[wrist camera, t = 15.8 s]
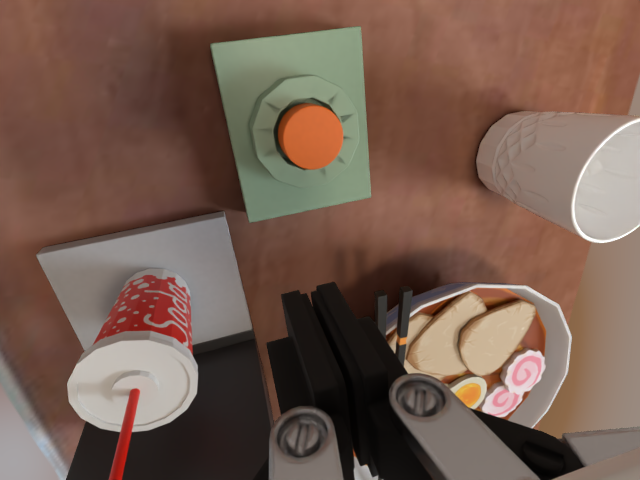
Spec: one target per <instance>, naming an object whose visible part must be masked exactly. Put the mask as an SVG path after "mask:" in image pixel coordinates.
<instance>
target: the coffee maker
mask: <svg viewBox="0 0 640 480" xmlns="http://www.w3.org/2000/svg"><path fill="white" fill-rule="evenodd" d="M36 257H37V259H38V261H39V263H40V265H41V267H42V269H43V270H44V272H45V274H46V276H47V278H48V280H49V282H50V284H51V286H52V288H53V290H54V292H55V294H56V296H57V298H58V300H59V302H60V304H61V306H62V308H63V310H64V312H65V313H66V315H67V317H68V319H69V321H70V323H71V325H72V327H73V329H74V331H75V333H76V335H77V337H78V339H79V341H80V343H81V345H82V347H83V349H84V351H86V350H88V349H89V348H90V347H91V346H92V345H93V343H94V341H95V340H96V338H97V336H98V334H99V332H100V330H101V328H102V326H103V325H104V323H105V321H106V319H107V317H108V315H109V313H110V311H111V310H112V308H113V306H114V304H115V302H116V300H117V298H118V296H119V295H120V293H121V291H122V289H123V287H124V285H125V283H126V281H127V280H128V279H129V278H131V277H132V276H133V275H134V274H136V273H137V272H140V271H143V270H147V269H150V268H154V269H166V270H169V271H171V272H174V273H177V274H178V275H179V276H180V277H181V278H182V279H183V280H185V281H186V284H187V286H188V288H189V290H190V303H191V327H192V350H193V357H194V359H195V361H196V363H197V365H198V385H197V394H196V396H195V397H194V399H193V401H192V402H191V404H190V406H189V407H188V409H187V410H186V411H184V412H183V413H182V414H181V415H179V416H178V417H177V418H175V419H174V420H173V421H171V422H170V423H167V424H164V425H162V426H159V427H156V428H154V429H151V430H148V431H138V432H132V434H131V438H130V443H129V448H128V453H127V458H126V462H125V467H124V472H123V477H122V480H253V478H254V477H255V475H256V474H257V473H258V471H259V470H260V468H261V467H262V465H263V464H264V463H265V461H266V460H267V458H268V457H269V438H270V432H271V429H272V427H273V425H274V420H273V414H272V409H271V404H270V399H269V393H268V388H267V383H266V378H265V374H264V370H263V366H262V362H261V358H260V354H259V350H258V346H257V342H256V338H255V334H254V330H253V326H252V322H251V317H250V313H249V309H248V305H247V301H246V297H245V293H244V289H243V285H242V281H241V277H240V273H239V269H238V265H237V260H236V256H235V252H234V248H233V244H232V240H231V236H230V232H229V228H228V224H227V220H226V216H225V212H224V211H222V212H217V213H212V214H207V215H202V216H197V217H192V218H187V219H182V220H177V221H172V222H167V223H162V224H157V225H152V226H147V227H142V228H137V229H132V230H127V231H122V232H117V233H113V234H108V235H103V236H98V237H93V238H88V239H83V240H78V241H73V242H68V243H63V244H58V245H53V246H48V247H43V248H42V249H41V250H40V251H39V252H38V253H37V254H36ZM119 435H120V432H117V431H111V430H105V429H100V428H98V427H97V426H95V425H93V424H91V423H89V422H87V421H86V423H85V426H84V429H83V432H82V435H81V438H80V440H79V443H78V446H77V449H76V452H75V455H74V458H73V461H72V464H71V466H70V469H69V472H68V475H67V478H66V480H109V477H110V473H111V468H112V464H113V460H114V456H115V452H116V448H117V444H118V439H119Z"/></svg>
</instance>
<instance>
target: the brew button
mask: <svg viewBox="0 0 640 480" xmlns="http://www.w3.org/2000/svg"><path fill="white" fill-rule="evenodd" d="M278 141H279V144H280V147H281V149H282V151H283V152H284V154H285V155H286V156H287V157H288V158H289V159H290V160H291V161H292V162H293V163H294V164H296V165H297V166H299V167H301V168H304V169H309V170H314V169H320V168H323V167H325V166H327V165H328V164H330V163H331V162H332V161H333V160H334V159H335V158H336V157H337V155H338V154H339V152H340V150H341V147H342V144H343V129H342V125H341V123H340V121H339V119H338V118H337V116H336V115H335V114H334V113H333V112H332V111H330V110H329V109H327V108H325V107H322V106H319V105H316V104H312V103H302V104H298V105H296V106H294V107H292V108H291V109H289V110H288V111H287V112H286V113H285V115H284V116H283V117H282V119H281V121H280V124H279V127H278Z"/></svg>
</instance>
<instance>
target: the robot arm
mask: <svg viewBox="0 0 640 480" xmlns="http://www.w3.org/2000/svg"><path fill="white" fill-rule="evenodd" d="M281 297H282V303H283V309H284V314H285V320H286V325H287V331H288V337H286V338H283V339H279V340H275V341H271V342H267V343H266V344H267V349H268V354H269V359H270V364H271V368H272V373H273V378H274V383H275V387H276V392H277V397H278V402H279V407H280V411H281V416H280V417H279V418H278V419H277V420H276V421H275V423H274V425H273V427H272V429H271V432H270V438H269V457H268V458H267V460H266V461H265V463H264V464H263V465H262V467H261V468H260V470H259V471H258V473H257V474H256V475H255V477H254V478H253V480H355V478H354V469H355V464H354V454H353V450H354V452H355V455H356V457H357V460H358V462H359V465H360V466H364V465H367V466H368V468H369V471H370V473H371V476H372V477H375V476H378V475H379V477H380V479H383V480H640V427H631V428H620V429H608V430H597V431H586V432H575V433H564V434H563V435H562V439H557V438H555V437H553V436H551V435H549V434H547V433H544V432H542V431H538V430H535V429H532V428H529V427H526V426H523V425H520V424H517V423H514V422H511V421H508V420H505V419H502V418H499V417H496V416H493V415H490V414H487V413H484V412H481V411H478V410H475V409H472V408H469V407H467V406H466V405H465V404H464V403H463V402H462V401H461V400H460V399H459V398H458V397H457V396H456V395H455V394H454V393H453V392H452V391H451V390H450V389H449V388H448V387H447V386H446V385H445V384H444V383H443V382H441V381H440V380H439V379H437V378H435V377H433V376H430V375H427V374H422V373H410V374H408V372H407V371H406V369H405V368H404V366H403V365H402V363H401V362H400V360H399V359H398V357H397V356H396V354H395V353H394V351H393V350H392V348H391V347H390V345H389V344H388V342H387V341H386V339H385V338H384V336H383V335H382V333H381V332H380V330H379V329H378V327H377V326H376V324H375V323H374V321H373V320H372V319H371V317H369V316H367V317H363V318H360V319H356V317H355V315H354V314H353V312H352V310H351V309H350V307H349V305H348V304H347V302H346V300H345V299H344V297H343V295H342V294H341V292H340V290H339V289H338V287H337V285H336V284H335V282H331V283H327V284H322V285H318V286H317V291H313V292H311V297H312V304H313V307H312V304H311V302H310V300H309V298H308V295H307V293H305V294H300V292H299V290H297V291H293V292H289V293H284V294H281Z"/></svg>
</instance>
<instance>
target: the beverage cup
mask: <svg viewBox="0 0 640 480" xmlns="http://www.w3.org/2000/svg"><path fill="white" fill-rule="evenodd" d="M197 385H198V365H197V363H196V361H195V359H194V357H193V350H192V327H191V303H190V290H189V288H188V286H187V284H186V281H185V280H183V279H182V278H181V277H180V276H179V275H178V274H177V273H174V272H171V271H169V270H166V269H154V268H150V269H147V270H143V271H140V272H137V273H136V274H134V275H133V276H132V277H131V278H129V279H128V280H127V281H126V283H125V285H124V287H123V289H122V291H121V293H120V295H119V296H118V298H117V300H116V302H115V304H114V306H113V308H112V310H111V311H110V313H109V315H108V317H107V319H106V321H105V323H104V325H103V326H102V328H101V330H100V332H99V334H98V336H97V338H96V340H95V341H94V343H93V345H92V346H91V347H90V348H89V349H88V350H86V351H85V352H84V353H82V355H81V357H80V359H79V360H78V362H77V364H76V366H75V368H74V370H73V372H72V374H71V376H70V378H69V380H68V382H67V387H68V398H69V403H70V404H71V406H72V407H73V408H74V410H75V411H76V412H77V414H78V415H79V416H80V418H82V419H84V420H85V421H87V422H89V423H91V424H93V425H95V426H97V427H98V428H100V429H105V430H111V431H117V432H120V435H119V439H118V444H117V448H116V452H115V456H114V460H113V464H112V468H111V473H110V477H109V480H122V477H123V472H124V467H125V462H126V458H127V453H128V448H129V443H130V438H131V434H132V432H138V431H148V430H151V429H154V428H156V427H159V426H162V425H164V424H167V423H170V422H171V421H173V420H174V419H175V418H177V417H178V416H179V415H181V414H182V413H183V412H184V411H186V410H187V409H188V407H189V406H190V404H191V402H192V401H193V399H194V397H195V396H196V394H197Z"/></svg>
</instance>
